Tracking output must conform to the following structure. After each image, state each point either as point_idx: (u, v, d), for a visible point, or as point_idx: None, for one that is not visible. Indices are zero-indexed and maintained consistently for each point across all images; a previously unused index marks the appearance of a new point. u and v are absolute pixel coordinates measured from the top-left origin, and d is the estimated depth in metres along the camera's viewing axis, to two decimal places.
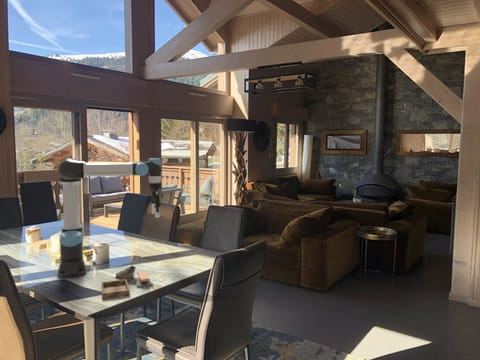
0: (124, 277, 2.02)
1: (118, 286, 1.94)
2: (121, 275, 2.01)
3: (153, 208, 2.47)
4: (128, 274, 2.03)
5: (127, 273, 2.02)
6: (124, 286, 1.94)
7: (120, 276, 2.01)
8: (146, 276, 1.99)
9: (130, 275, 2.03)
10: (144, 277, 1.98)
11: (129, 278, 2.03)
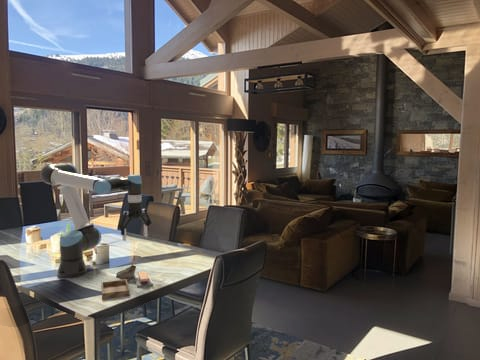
0: (125, 276, 2.03)
1: (118, 286, 1.94)
2: (122, 274, 2.02)
3: (144, 230, 2.20)
4: (129, 274, 2.04)
5: (128, 272, 2.04)
6: (124, 286, 1.94)
7: (121, 275, 2.02)
8: (146, 276, 1.99)
9: (131, 274, 2.04)
10: (144, 277, 1.98)
11: (130, 277, 2.05)
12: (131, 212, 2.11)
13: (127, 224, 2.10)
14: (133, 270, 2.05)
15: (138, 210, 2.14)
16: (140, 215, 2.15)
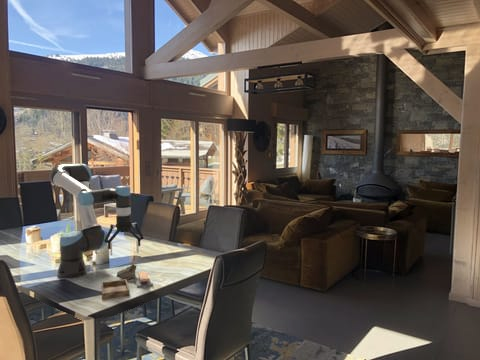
0: (125, 276, 2.04)
1: (118, 286, 1.94)
2: (122, 274, 2.03)
3: (136, 246, 2.06)
4: (129, 273, 2.05)
5: (128, 272, 2.05)
6: (124, 286, 1.94)
7: (121, 274, 2.03)
8: (146, 276, 1.99)
9: (131, 274, 2.05)
10: (144, 277, 1.98)
11: (130, 277, 2.05)
12: (118, 225, 2.00)
13: (113, 238, 2.00)
14: (133, 269, 2.06)
15: (127, 224, 2.02)
16: (129, 229, 2.02)
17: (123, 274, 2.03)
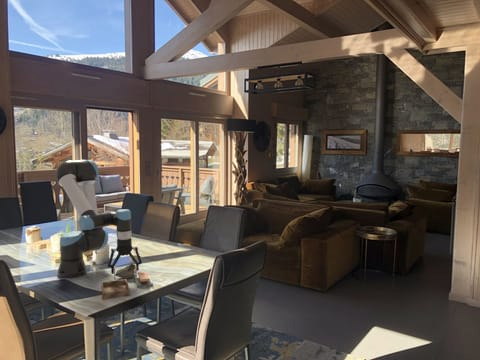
0: (124, 275, 2.05)
1: (118, 286, 1.94)
2: (121, 273, 2.04)
3: None
4: (128, 272, 2.06)
5: (127, 271, 2.06)
6: (124, 286, 1.94)
7: (120, 274, 2.04)
8: (146, 276, 1.99)
9: (130, 273, 2.06)
10: (144, 277, 1.98)
11: (129, 276, 2.06)
12: (119, 249, 2.01)
13: (116, 262, 2.01)
14: (132, 269, 2.07)
15: (128, 247, 2.03)
16: (129, 253, 2.03)
17: (122, 273, 2.04)
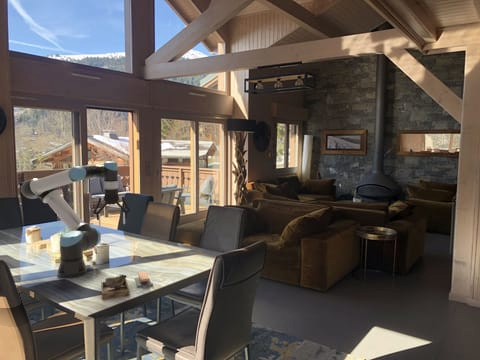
0: (113, 286, 1.88)
1: None
2: (110, 284, 1.87)
3: (123, 218, 2.21)
4: (118, 283, 1.89)
5: (117, 282, 1.88)
6: (124, 286, 1.94)
7: (109, 285, 1.87)
8: (146, 276, 1.99)
9: (120, 284, 1.89)
10: (144, 277, 1.98)
11: (119, 286, 1.90)
12: (106, 198, 2.16)
13: (101, 210, 2.15)
14: (123, 280, 1.90)
15: (114, 197, 2.17)
16: (116, 202, 2.17)
17: (111, 284, 1.88)
